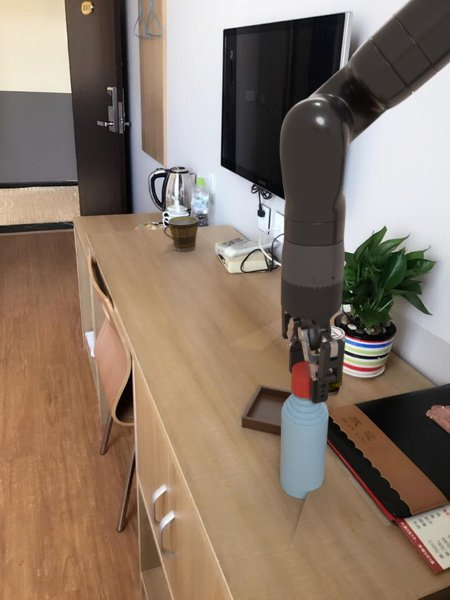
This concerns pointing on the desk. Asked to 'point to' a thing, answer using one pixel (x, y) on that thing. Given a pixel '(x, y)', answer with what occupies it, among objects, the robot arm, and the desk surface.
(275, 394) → the tray
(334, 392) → the green can
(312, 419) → the water bottle
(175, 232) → the ceramic cup
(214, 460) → the desk surface
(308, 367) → the bottle cap
